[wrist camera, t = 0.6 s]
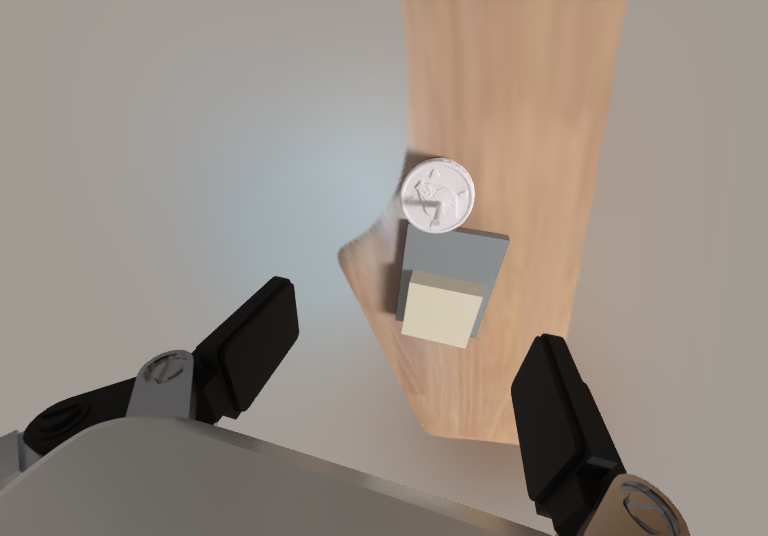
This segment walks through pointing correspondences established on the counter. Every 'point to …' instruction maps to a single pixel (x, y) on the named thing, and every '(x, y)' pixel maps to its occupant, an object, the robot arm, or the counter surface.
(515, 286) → the counter surface
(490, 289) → the base board
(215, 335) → the robot arm
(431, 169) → the smoothie
